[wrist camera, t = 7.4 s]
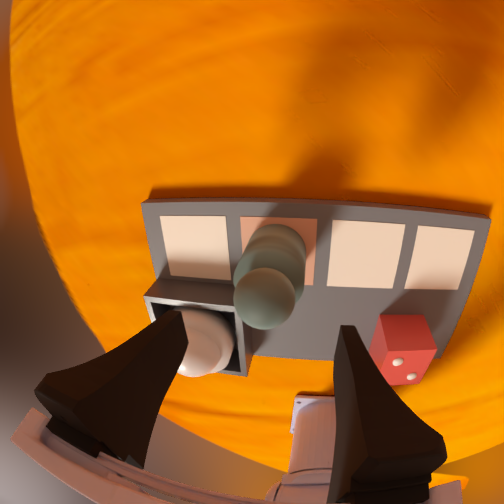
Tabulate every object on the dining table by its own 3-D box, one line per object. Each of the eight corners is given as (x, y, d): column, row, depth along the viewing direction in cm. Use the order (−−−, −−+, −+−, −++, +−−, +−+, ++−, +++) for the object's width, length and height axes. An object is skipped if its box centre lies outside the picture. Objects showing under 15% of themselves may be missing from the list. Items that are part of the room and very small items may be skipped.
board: (437, 350, 22) (446, 378, 19) (177, 336, 27) (163, 362, 24) (485, 214, 16) (509, 234, 12) (147, 199, 20) (121, 215, 17)
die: (409, 349, 21) (419, 384, 18) (368, 349, 22) (373, 386, 18) (423, 314, 19) (437, 349, 16) (379, 314, 20) (388, 352, 17)
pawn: (304, 278, 20) (299, 350, 14) (249, 275, 21) (222, 343, 14) (307, 224, 18) (304, 285, 12) (246, 223, 19) (213, 280, 13)
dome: (239, 358, 23) (226, 399, 19) (176, 348, 24) (158, 384, 20) (233, 305, 20) (216, 348, 17) (162, 297, 22) (136, 334, 18)
